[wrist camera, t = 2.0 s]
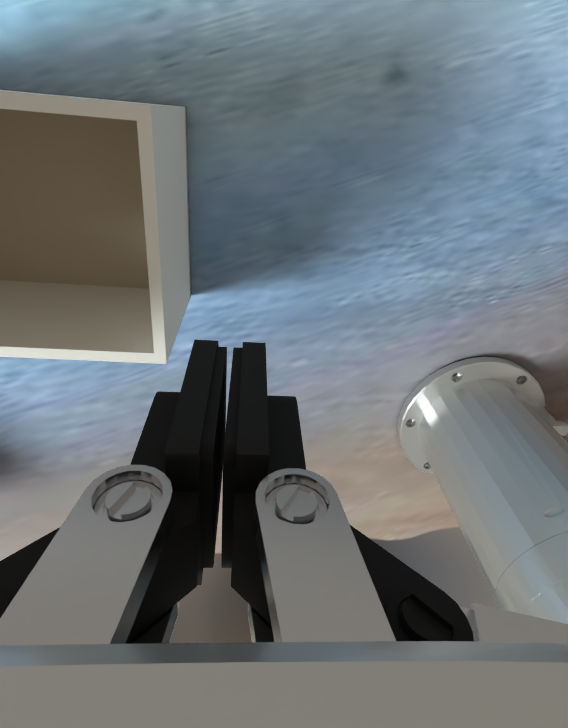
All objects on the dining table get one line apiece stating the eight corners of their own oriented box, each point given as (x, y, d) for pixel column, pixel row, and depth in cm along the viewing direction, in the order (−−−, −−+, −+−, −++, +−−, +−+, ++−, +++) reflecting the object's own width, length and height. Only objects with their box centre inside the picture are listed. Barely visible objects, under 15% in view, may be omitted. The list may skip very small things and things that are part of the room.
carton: (186, 106, 26) (150, 105, 18) (191, 295, 32) (166, 364, 24) (-100, 80, 25) (-290, 64, 16) (-40, 282, 31) (-156, 349, 22)
